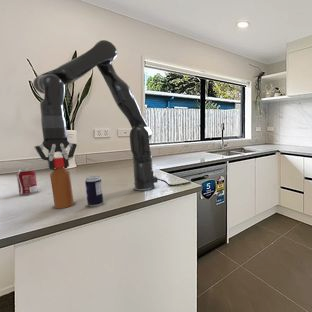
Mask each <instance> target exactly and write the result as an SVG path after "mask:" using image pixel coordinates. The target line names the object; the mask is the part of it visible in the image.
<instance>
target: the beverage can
mask: <svg viewBox="0 0 312 312" xmlns="http://www.w3.org/2000/svg"><path fill="white" fill-rule="evenodd" d="M84 185H85V193H86V203H87V205H88V206H90V207H98V206H101V205H102V204H103V203H104V196H103V186H102V178H101V176H100V175H92V176H88V177H87V176H86V177H85V184H84Z"/></svg>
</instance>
